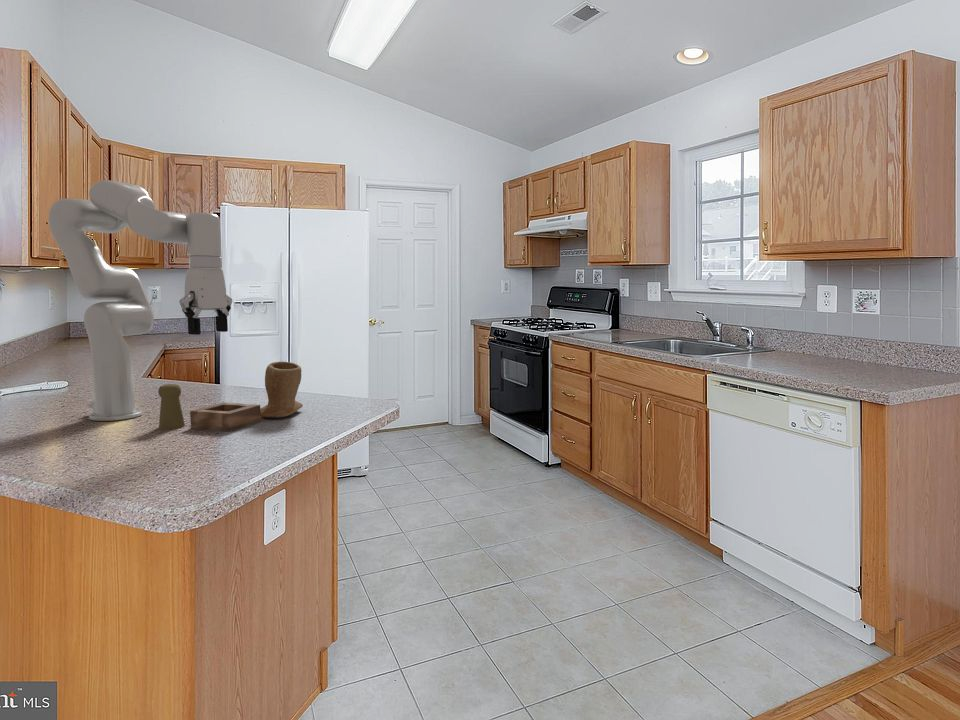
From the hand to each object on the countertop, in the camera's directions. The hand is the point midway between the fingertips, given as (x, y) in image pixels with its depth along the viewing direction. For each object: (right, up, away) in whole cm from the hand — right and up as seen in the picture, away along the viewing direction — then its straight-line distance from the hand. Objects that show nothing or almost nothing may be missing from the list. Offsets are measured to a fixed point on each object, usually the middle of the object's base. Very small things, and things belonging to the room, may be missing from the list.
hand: (208, 332), depth 155 cm
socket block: (+2, -24, +6) cm, 24 cm away
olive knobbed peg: (-11, -24, +4) cm, 27 cm away
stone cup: (+13, -22, +18) cm, 32 cm away
